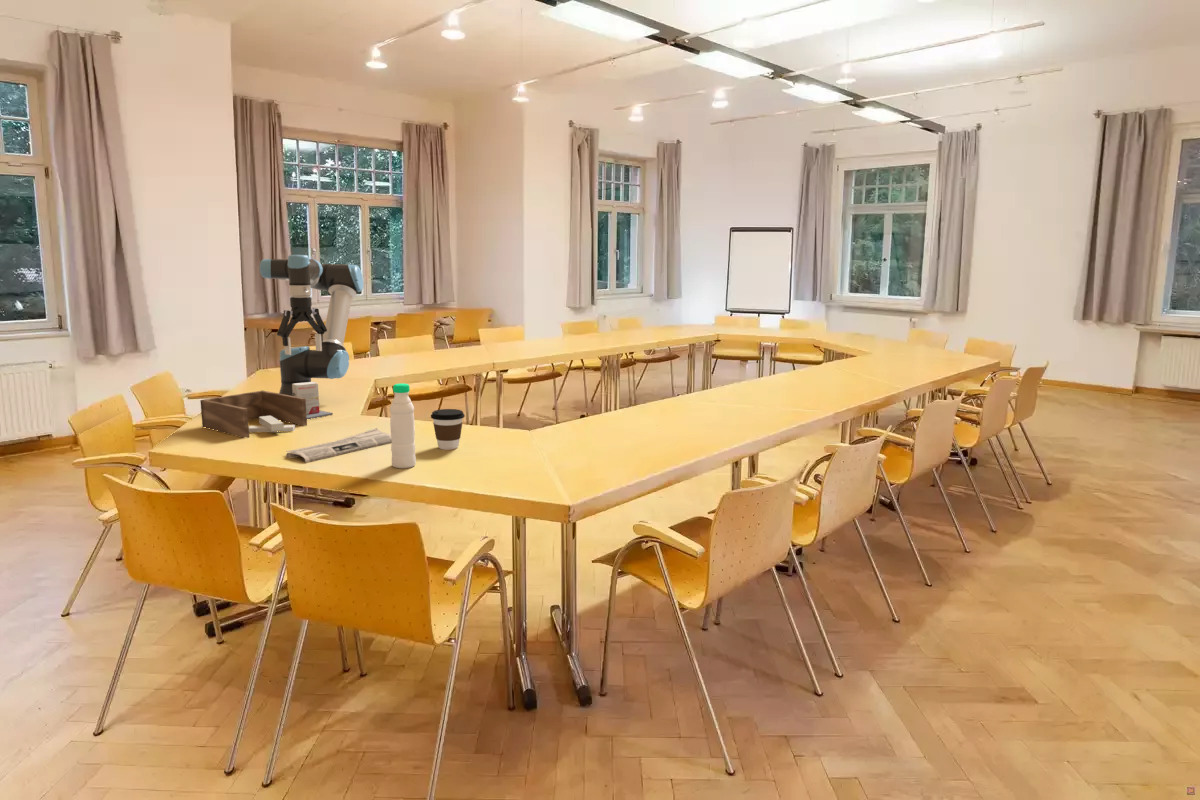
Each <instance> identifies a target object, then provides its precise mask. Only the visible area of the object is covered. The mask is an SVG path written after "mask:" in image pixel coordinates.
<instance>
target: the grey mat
mask: <svg viewBox="0 0 1200 800" xmlns="http://www.w3.org/2000/svg"><path fill="white" fill-rule="evenodd" d="M319 411H320V412H319V413H313V414H306V416H307V419H310V420H312V419H311V418H315V419H318V418H317V417H320V418H323V417H322V416H325V417H328V416H327V415H330V416H333V415H332V414H334V413H333V412H330V411H325V410H320V409H319Z"/></svg>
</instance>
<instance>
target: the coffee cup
mask: <svg viewBox="0 0 1200 800" xmlns="http://www.w3.org/2000/svg"><path fill="white" fill-rule="evenodd" d="M463 418H465V414H464V412H463V410H461V409H455V408H454V409H453V408H441V409H436V410H433V411H432V412H431V414H430V419H432V420H433V422H432V423H433V428H434V435H435V438H436V441H437V447H438V449H439V450H444V451H445V450H446V451H449V450H452V451H453V450H455V449H458V448H459V446H460V440H461V434H462V429H463Z"/></svg>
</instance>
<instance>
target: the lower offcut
mask: <svg viewBox="0 0 1200 800" xmlns="http://www.w3.org/2000/svg"><path fill="white" fill-rule="evenodd" d="M283 425H284V430H278V432H277V431H271V430H269V429H268V428H266V427H264V426H263V425H249V432H270V433H280V432H279V431H284V432H283V433H289V432H288V431H296V424H283ZM285 431H287V432H285Z"/></svg>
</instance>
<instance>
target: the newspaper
mask: <svg viewBox="0 0 1200 800" xmlns="http://www.w3.org/2000/svg"><path fill="white" fill-rule="evenodd" d="M389 444H392V440H391V433H387V432H382V431H381V430H379V429H378V427H376V428H372V429H369V430H366V431H364V432H360V433H356V434H353V435H349V436H347V437H344V438H340V439H337V440H334V441H329V442H325V443H321V444H313V445H309V446H305V447H301V448H296V449H291V450H286V454H285V456H286V458H287V459H294V458H299V457H302V458H303V459H302V462H305V464H307V463H313V462H316V461H320V460H325V459H329V458H333V457H337V456H342V455H345V454H350V453H354V452H358V451H362V450H363V451H364V450H367V449H371V448H376V447H380V446H383V445H389Z"/></svg>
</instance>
